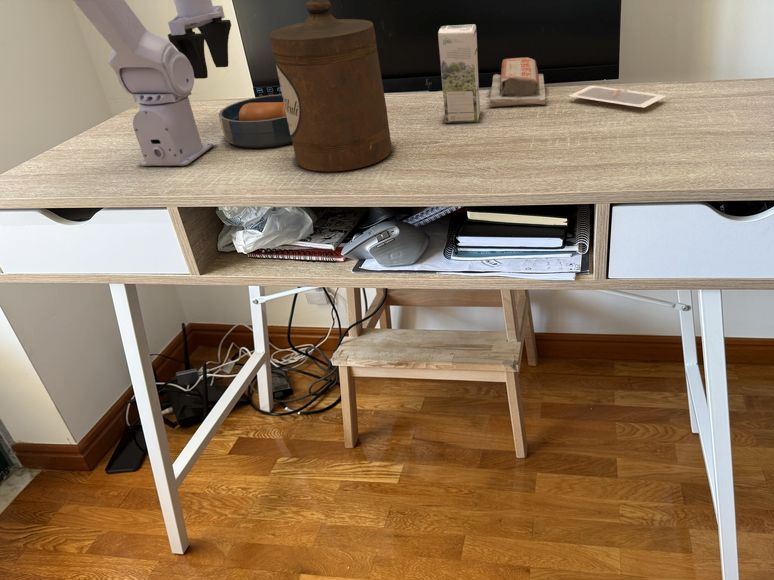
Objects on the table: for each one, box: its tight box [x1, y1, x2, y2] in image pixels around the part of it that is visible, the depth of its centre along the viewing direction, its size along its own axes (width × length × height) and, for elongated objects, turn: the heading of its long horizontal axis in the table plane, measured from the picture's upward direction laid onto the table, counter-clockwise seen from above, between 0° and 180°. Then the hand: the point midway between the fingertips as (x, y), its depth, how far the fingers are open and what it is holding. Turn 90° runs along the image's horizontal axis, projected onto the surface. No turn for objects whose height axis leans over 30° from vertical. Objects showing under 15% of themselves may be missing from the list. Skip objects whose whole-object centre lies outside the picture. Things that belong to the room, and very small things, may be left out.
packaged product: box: [489, 56, 547, 108], centre depth 126 cm, size 18×5×10 cm
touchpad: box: [568, 84, 667, 109], centre depth 118 cm, size 8×15×2 cm, turn 49°
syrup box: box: [437, 23, 481, 124], centre depth 112 cm, size 6×6×14 cm
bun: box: [239, 102, 286, 121], centre depth 115 cm, size 11×5×5 cm, turn 81°
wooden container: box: [269, 0, 393, 173], centre depth 98 cm, size 15×15×22 cm
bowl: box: [217, 93, 293, 149], centre depth 115 cm, size 16×16×4 cm
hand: (212, 72), depth 116 cm, fingers open, 7 cm apart
